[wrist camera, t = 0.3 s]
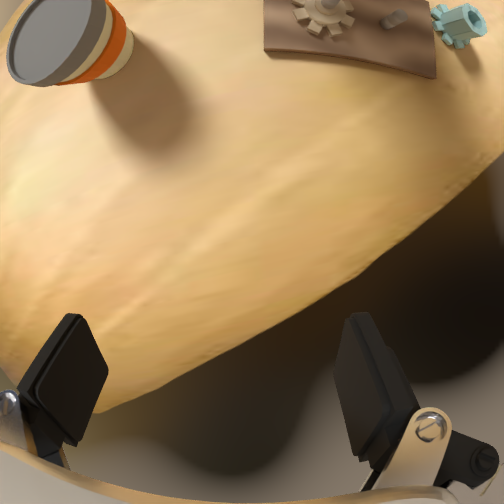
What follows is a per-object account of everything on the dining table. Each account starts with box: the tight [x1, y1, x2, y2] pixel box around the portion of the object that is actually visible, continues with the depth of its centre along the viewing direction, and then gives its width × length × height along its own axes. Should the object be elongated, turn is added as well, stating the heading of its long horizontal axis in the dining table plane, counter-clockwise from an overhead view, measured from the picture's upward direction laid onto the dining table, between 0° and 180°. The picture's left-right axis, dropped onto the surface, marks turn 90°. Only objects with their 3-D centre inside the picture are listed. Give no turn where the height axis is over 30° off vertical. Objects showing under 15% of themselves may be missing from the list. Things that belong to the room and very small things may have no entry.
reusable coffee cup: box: [6, 0, 134, 87], centre depth 21 cm, size 13×12×15 cm
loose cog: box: [431, 3, 487, 49], centre depth 21 cm, size 8×8×7 cm
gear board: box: [264, 0, 436, 79], centre depth 23 cm, size 14×25×7 cm, turn 90°
